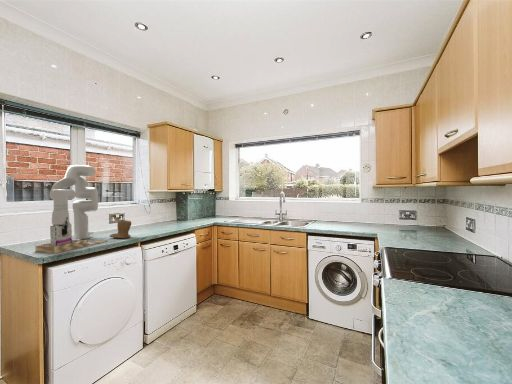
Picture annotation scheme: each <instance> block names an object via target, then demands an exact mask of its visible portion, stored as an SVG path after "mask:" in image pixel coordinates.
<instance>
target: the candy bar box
mask: <svg viewBox="0 0 512 384" xmlns="http://www.w3.org/2000/svg"><path fill="white" fill-rule="evenodd" d="M64 226H65V225H64ZM62 229H63V228H62V225H55V226H53V225H50V227H49V233H50V243H51V246H60V245H65V244H70V243H72V238H73V236H72V235H73V233H72V231H73V230H72V223H70V225H69V226H68V228H67V234H66V235H62Z"/></svg>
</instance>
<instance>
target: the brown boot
mask: <svg viewBox="0 0 512 384" xmlns="http://www.w3.org/2000/svg"><path fill="white" fill-rule="evenodd" d="M116 226H117V233H112V234H109V235H108V236H109V237H110V238H114V239H126V238H130V237H131V236H132V235H130V234H129V232H130V229H131V227H132V221H131V220H127V219H126V220H125V219H119V220H118V221H117V225H116Z"/></svg>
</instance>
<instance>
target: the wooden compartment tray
mask: <svg viewBox="0 0 512 384" xmlns="http://www.w3.org/2000/svg"><path fill="white" fill-rule="evenodd" d="M88 241H89V240H88V239H83V240H81V241H79V242H74V243H70V244H65V245H60V246H51V242H47V243H43V244H38V245H35V247H34V248H35V250H34V251H35V253H45V254H46V253H48V254H50V253H51V254H57V253H63V252H66V251H71V250H75V249H79V248H83V247H88V246H89V245H88V243H89V242H88Z"/></svg>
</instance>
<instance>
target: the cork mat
mask: <svg viewBox="0 0 512 384" xmlns="http://www.w3.org/2000/svg"><path fill="white" fill-rule="evenodd" d="M106 242H108V240H104V239H103V240H101V239H100V240H96V241H92V242H88V246H94V245H99V244H101V243H102V244H103V243H106Z"/></svg>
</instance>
